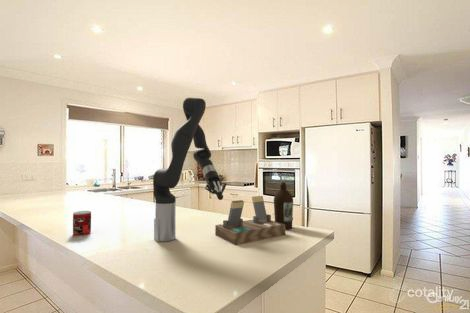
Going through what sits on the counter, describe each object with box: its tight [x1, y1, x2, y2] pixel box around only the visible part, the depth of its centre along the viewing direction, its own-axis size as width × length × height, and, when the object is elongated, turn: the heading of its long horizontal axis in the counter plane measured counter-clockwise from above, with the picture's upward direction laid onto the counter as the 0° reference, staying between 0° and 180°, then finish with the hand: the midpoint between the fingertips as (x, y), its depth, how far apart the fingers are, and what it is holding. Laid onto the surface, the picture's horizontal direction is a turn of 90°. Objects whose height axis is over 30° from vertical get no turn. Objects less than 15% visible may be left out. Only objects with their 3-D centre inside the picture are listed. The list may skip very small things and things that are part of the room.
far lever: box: [251, 195, 267, 222], centre depth 139 cm, size 6×2×13 cm, turn 122°
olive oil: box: [273, 181, 294, 231], centre depth 146 cm, size 11×11×25 cm
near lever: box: [227, 199, 245, 227], centre depth 126 cm, size 6×2×13 cm, turn 122°
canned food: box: [72, 210, 92, 237], centre depth 133 cm, size 8×8×11 cm
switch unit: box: [214, 213, 286, 246], centre depth 131 cm, size 30×18×8 cm, turn 122°
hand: (221, 199), depth 138 cm, fingers closed
